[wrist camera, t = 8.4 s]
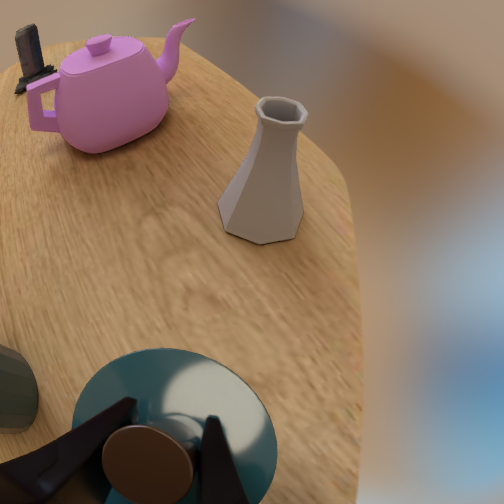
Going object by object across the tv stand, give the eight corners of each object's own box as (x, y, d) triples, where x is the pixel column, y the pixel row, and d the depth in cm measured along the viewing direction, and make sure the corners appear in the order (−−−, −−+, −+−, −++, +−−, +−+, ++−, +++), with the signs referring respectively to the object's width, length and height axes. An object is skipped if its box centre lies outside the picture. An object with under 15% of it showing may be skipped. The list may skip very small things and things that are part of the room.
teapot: (220, 115, 31) (226, 26, 21) (51, 192, 23) (7, 102, 14) (171, 74, 35) (170, 6, 26) (39, 130, 28) (14, 61, 18)
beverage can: (52, 66, 38) (41, 17, 28) (59, 75, 36) (47, 19, 25) (13, 88, 34) (-2, 40, 24) (16, 100, 32) (-2, 45, 22)
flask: (211, 241, 23) (211, 138, 14) (222, 173, 26) (228, 76, 17) (304, 251, 23) (350, 158, 14) (301, 183, 27) (331, 92, 18)
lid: (255, 537, 7) (275, 592, 3) (74, 490, 7) (16, 515, 3) (285, 372, 11) (322, 352, 7) (104, 332, 11) (53, 292, 7)
